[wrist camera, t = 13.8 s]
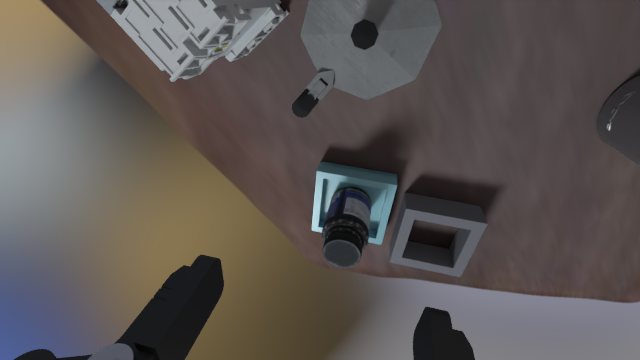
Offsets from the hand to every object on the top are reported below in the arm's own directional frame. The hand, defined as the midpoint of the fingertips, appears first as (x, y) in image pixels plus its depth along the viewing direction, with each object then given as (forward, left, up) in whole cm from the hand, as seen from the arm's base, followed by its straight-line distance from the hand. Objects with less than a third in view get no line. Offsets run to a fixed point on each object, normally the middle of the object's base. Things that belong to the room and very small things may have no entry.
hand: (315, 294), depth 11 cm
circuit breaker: (+18, -10, -30) cm, 37 cm away
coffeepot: (+1, -7, -30) cm, 31 cm away
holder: (-13, +19, -30) cm, 38 cm away
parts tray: (0, +17, -30) cm, 34 cm away
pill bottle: (0, +17, -29) cm, 34 cm away
